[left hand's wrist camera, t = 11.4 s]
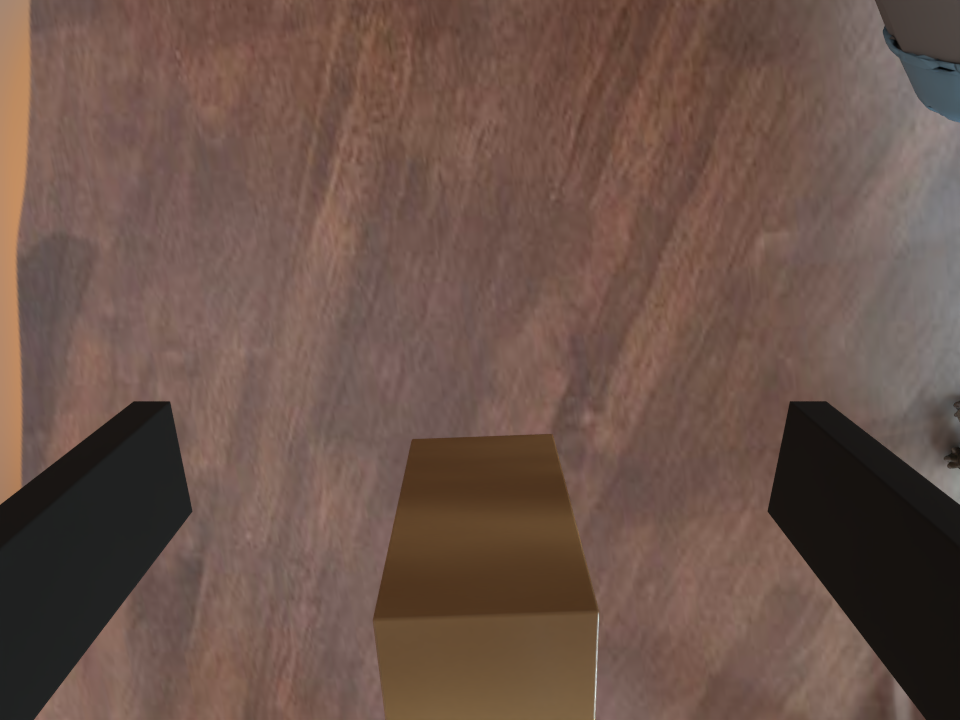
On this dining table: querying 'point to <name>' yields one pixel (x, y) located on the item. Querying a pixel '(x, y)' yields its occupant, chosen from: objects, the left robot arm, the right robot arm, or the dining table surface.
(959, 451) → the toy dinosaur
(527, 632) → the box
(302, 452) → the dining table surface
